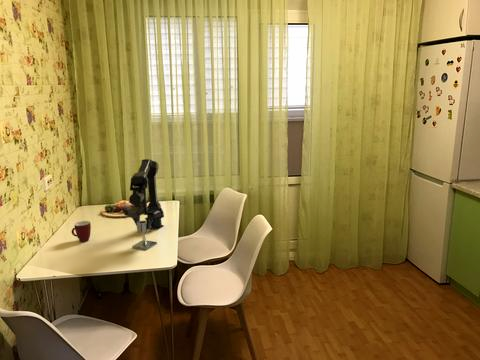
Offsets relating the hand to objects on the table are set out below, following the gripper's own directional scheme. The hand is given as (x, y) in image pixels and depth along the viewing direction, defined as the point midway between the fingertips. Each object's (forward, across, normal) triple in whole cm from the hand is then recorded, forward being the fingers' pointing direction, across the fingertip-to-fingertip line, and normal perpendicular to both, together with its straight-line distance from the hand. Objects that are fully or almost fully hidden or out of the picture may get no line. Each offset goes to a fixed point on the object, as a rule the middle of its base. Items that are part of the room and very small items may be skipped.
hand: (143, 228), depth 203 cm
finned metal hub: (+9, 0, 0) cm, 9 cm away
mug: (+10, -37, -6) cm, 39 cm away
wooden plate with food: (+10, -50, +47) cm, 70 cm away
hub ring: (+1, 0, 0) cm, 1 cm away
